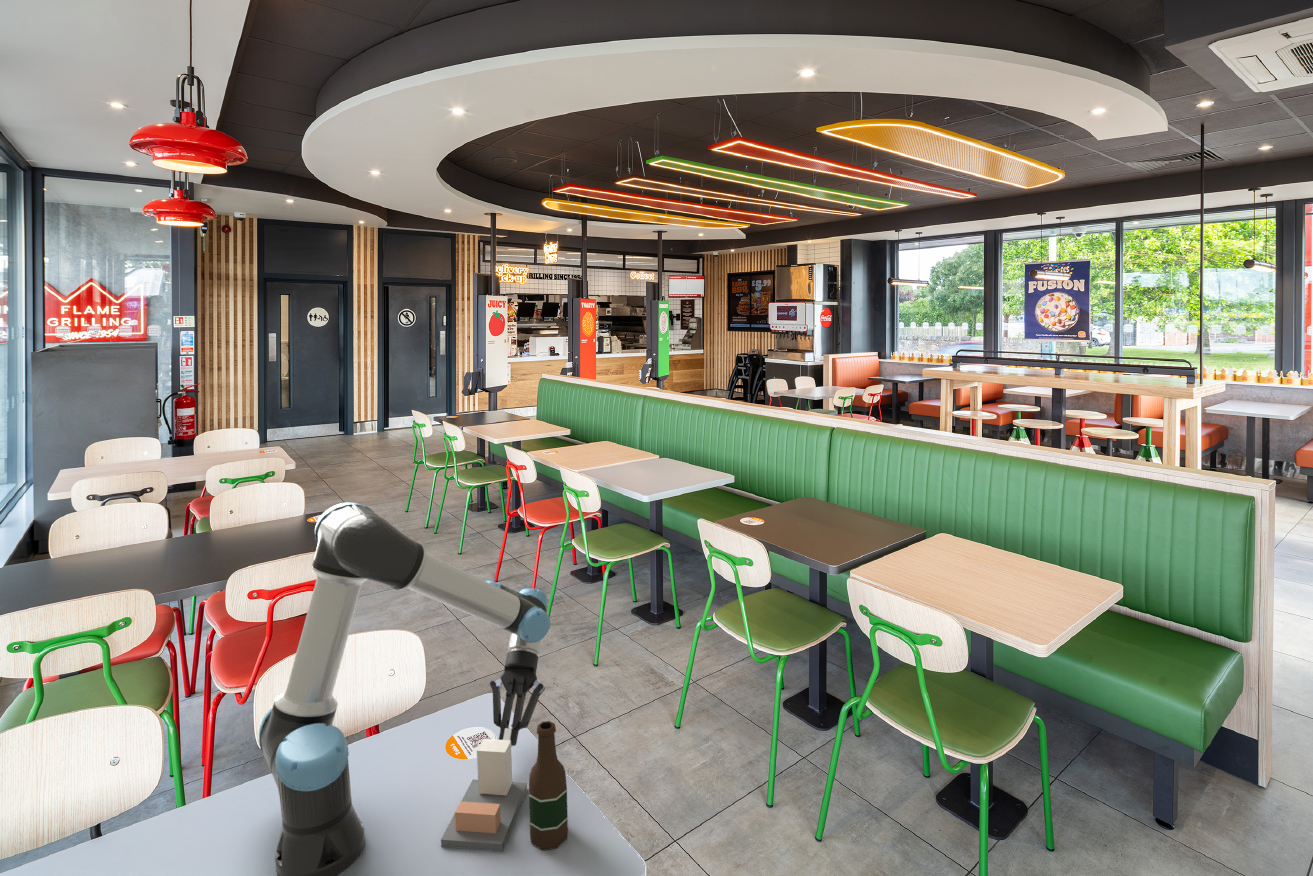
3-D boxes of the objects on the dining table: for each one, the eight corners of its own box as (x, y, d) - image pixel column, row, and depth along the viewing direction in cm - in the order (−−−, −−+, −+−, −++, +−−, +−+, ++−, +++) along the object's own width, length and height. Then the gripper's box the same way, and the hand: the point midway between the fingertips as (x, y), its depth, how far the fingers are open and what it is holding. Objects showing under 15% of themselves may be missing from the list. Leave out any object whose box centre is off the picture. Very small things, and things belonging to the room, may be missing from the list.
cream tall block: (478, 793, 139) (476, 750, 138) (485, 780, 143) (483, 738, 142) (506, 795, 139) (505, 752, 137) (512, 782, 143) (510, 740, 141)
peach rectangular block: (455, 830, 130) (454, 812, 129) (461, 819, 133) (460, 801, 132) (495, 833, 129) (495, 815, 128) (500, 822, 132) (500, 804, 131)
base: (441, 846, 128) (440, 839, 127) (473, 785, 144) (472, 779, 144) (502, 851, 127) (501, 844, 126) (527, 789, 143) (526, 783, 143)
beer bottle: (561, 854, 126) (558, 740, 122) (522, 848, 127) (518, 735, 123) (574, 824, 133) (572, 716, 129) (537, 818, 135) (534, 711, 131)
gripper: (552, 659, 162) (536, 766, 149) (500, 657, 163) (479, 762, 150) (546, 650, 156) (529, 760, 143) (492, 647, 157) (470, 756, 144)
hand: (504, 761), depth 146 cm, fingers closed
